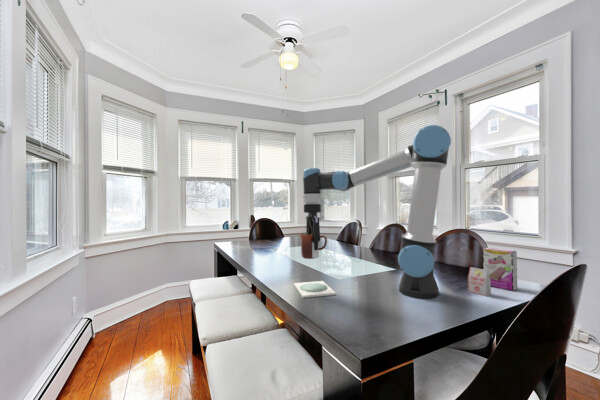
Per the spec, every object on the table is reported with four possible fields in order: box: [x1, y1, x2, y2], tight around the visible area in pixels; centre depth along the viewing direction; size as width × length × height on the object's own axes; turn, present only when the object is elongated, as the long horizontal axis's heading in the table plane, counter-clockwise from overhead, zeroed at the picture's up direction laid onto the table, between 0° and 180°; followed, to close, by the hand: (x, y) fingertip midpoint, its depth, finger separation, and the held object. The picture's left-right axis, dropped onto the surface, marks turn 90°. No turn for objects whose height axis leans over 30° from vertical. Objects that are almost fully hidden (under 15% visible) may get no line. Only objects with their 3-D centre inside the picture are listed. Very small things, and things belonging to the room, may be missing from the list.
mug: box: [298, 232, 328, 260], centre depth 116 cm, size 12×9×10 cm
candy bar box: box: [482, 247, 518, 292], centre depth 116 cm, size 11×5×16 cm, turn 34°
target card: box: [293, 280, 337, 299], centre depth 116 cm, size 18×14×1 cm
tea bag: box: [467, 266, 492, 297], centre depth 108 cm, size 4×7×10 cm, turn 28°
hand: (313, 255), depth 117 cm, fingers closed on mug, 7 cm apart
